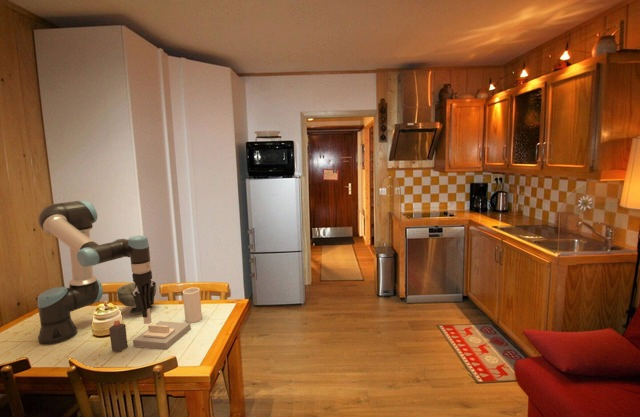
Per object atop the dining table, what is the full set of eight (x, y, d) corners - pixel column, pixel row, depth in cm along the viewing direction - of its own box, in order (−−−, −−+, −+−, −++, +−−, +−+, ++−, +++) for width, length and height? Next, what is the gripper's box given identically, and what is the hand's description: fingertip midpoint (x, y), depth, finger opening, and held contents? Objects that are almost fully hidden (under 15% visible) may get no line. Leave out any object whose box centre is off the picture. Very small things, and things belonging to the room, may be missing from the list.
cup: (196, 323, 181) (194, 293, 178) (182, 322, 182) (179, 292, 180) (204, 316, 189) (202, 287, 186) (191, 315, 190) (188, 287, 188)
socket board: (133, 346, 160) (132, 340, 160) (160, 326, 178) (159, 321, 178) (166, 349, 157) (166, 343, 156) (190, 329, 175) (190, 323, 174)
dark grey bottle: (111, 351, 156) (108, 323, 155) (119, 346, 161) (116, 319, 159) (120, 352, 156) (117, 324, 154) (127, 346, 160) (124, 319, 158)
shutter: (143, 336, 162) (142, 328, 162) (153, 328, 169) (152, 321, 169) (165, 338, 160) (164, 330, 159) (175, 330, 167) (174, 322, 166)
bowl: (134, 303, 209) (131, 279, 207) (165, 304, 206) (162, 279, 204) (110, 318, 190) (107, 291, 188) (143, 319, 187) (140, 292, 185)
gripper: (138, 276, 146) (145, 330, 149) (159, 267, 159) (164, 316, 162) (123, 276, 148) (129, 329, 151) (144, 266, 160) (150, 316, 164)
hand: (147, 322), depth 156 cm, fingers closed
